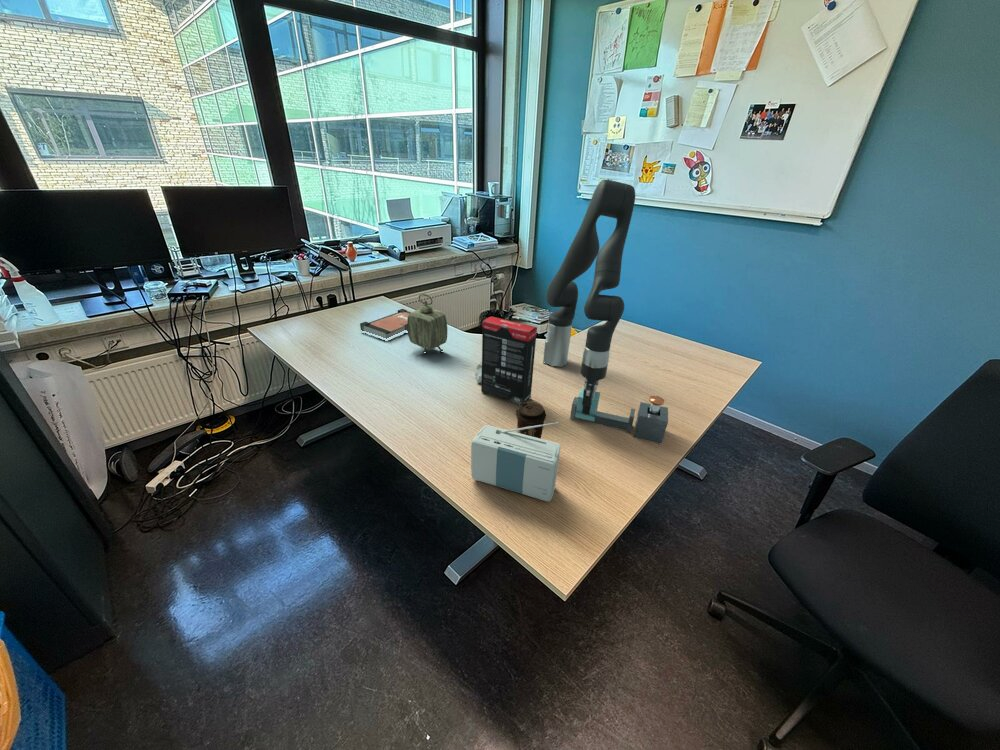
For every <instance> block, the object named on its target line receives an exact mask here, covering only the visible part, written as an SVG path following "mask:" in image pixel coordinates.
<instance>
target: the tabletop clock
mask: <svg viewBox="0 0 1000 750" xmlns="http://www.w3.org/2000/svg"><path fill="white" fill-rule="evenodd" d="M423 296H425V297H428V298H429V299H430V301H431V302H428V301H427V300H425V301H422V300H421V297H423ZM418 300H419V302H420V303H421V304H422V305H421V306H420V308H419V309H416V310H414V311H410V312H411V313H410V314H409V316H408V319H407V325H408V340H409V341H410V343H412V344H413V345H416V346H418V347H421V348H424V350H422V353H423V352H426V351H427V349H430V350H434V349H436V348H438V349H439V352H440V351H443V350H444V349H442V348H441V345H444V344H445V343H447V341H448V322H447V317H446V314H445V313H443V312H442V311H440V310H438V309H435V308H433V307H432V306H431V305H432V304H433V298H432V297H431V296H430V295H428V294H426V293H421V294H419V295H418Z"/></svg>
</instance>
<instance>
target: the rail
mask: <svg viewBox="0 0 1000 750" xmlns="http://www.w3.org/2000/svg"><path fill="white" fill-rule="evenodd" d="M577 402H578V397H577V396H574V398H573V400H572V403H571V411H570V416H569V420H571V421H574V420H577V421H583V422H586V423H591V424H595V425H599V426H603V427H608V428H612V429H616V430H622V431H625V432H626V433H628V434H631V433H632V429H633V428H632V427H633V425H634V420H635V415H636V414H635V413H636V409H634V408H630V413H629V417H628V416H627V417H626V416H622V415H617V414H613V413H607V412H603V411H598V410H597V412H596V415H595V421H590V420H586V419H581V418H577V417H575V415H576V408H577Z"/></svg>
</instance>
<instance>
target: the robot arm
mask: <svg viewBox="0 0 1000 750" xmlns="http://www.w3.org/2000/svg"><path fill="white" fill-rule="evenodd" d="M635 202H636V190H635V188H634V186H633V185H631V184H629V183H625V182H621V181H616V180H611V179H602V180H601V181H599V183H598V184H597V185H596V188H594V192H593V193H592V196H591V198H590V201H589V204H588V206H587V208H586V212H585V214H584V216H583V220H582V221H581V223H580V226H579V228H578V230H577V232H576V234H575V236H574V238H573V240H572V242H571V243H570V246H569V248H568V250H567V252H566V255H565V257H564V259H563V261H562V263H561V265H560V267H559V269H558V270H557V272H556V273H555V275H554V277H553V278H552V279H551V281H550V283H549V284H548V287H547V290H546V296H545V299H546V303H547V304H548V305H549V307H552V308H558V309H557V310H555V311H553V312H552V313H550V314H549V316H548V321H547V322H548V323H547V324H548V325H547V333H546V339H545V342H544V350H543V360H542V363H543V362H545V363H544V364H546V363H547V364H549V365H551V366H550V367H553V366H562V367H565V366H567V364H568V358H569V350H570V342H571V336H572V327H573V321H574V319H575V315H576V309H577V304H578V298H579V288H578V286H577V283H576V282H574V281H575V280H576V279H577V278H579V277H581V276H582V275H583V274H585V273H586V272H587V271H588V270H589V269H590V268H591V267H592V265H593V264H594V262H595V266H594V275H593V282H592V286H591V289H590V291H589V294H588V295H587V296H588V297H587V299H586V301H585V304H584V308H583V310H584V311H583V312H584V315H585V317H586V318H587V319H588V320H591V321H600V322H601V321H603V322H605V323H602V324H599V325H593V326H590V327H589V328H588V329H587V332H586V333H587V334H586V339H585V345H584V350H583V353H582V360H581V366H580V375H581V376H582V377H583V378H585V380H584V383H583V387H584V388H583V389H584V392H583V402H582V405H583V409H582V413H583V414H586V415H589V413H590V407H591V404H592V398H594V396H595V391H596V392H597V389H598V386H599V382H600V381H601V380H604V379H605V378H606V376H607V371H608V366H609V361H610V352H611V344H612V339H613V335H614V334H615V333H614V332H615V330H616V327H617V325H618V324H619V322H620V320H621V318H622V317H623V314H624V312H625V303H624V300H623V298H622V297H621V296H619V295H609V294H607V295H606V294H600V293H601V292H602V291H606V290H612V289H616V288H617V287H618V286H619V285H620V282H621V273H622V271H621V270H622V264H623V263H622V262H623V261H622V260H623V254H624V250H625V245H626V240H627V236H628V233H629V229H630V224H631V220H632V216H633V212H634V207H635ZM601 216H603V217H608V218H613V219H616V224H615V228H614V229H613V232H612V233H611V234H610V237H609V238H608V239H607V240H606V241H605V242H604V244H602V246H601V248H600V239H599V236H598V231H597V223H598V220H599V218H600V217H601ZM547 364H546V365H547ZM549 365H548V366H549ZM564 365H565V366H564ZM593 391H594V392H593ZM592 394H593V395H592ZM587 400H588V401H587Z"/></svg>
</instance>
